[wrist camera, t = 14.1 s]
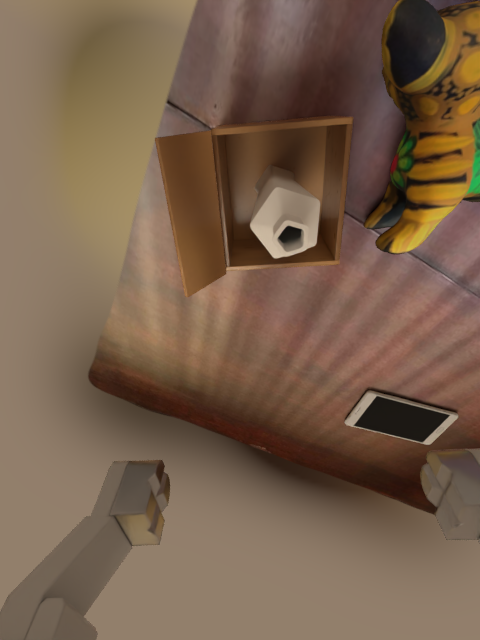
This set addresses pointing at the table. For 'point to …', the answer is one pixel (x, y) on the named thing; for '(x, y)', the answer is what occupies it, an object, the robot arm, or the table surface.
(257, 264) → the carton
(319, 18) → the table surface
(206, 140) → the carton flap
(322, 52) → the table surface
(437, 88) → the multicolored animal figure
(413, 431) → the smartphone
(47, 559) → the robot arm
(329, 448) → the table surface
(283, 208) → the perfume bottle
